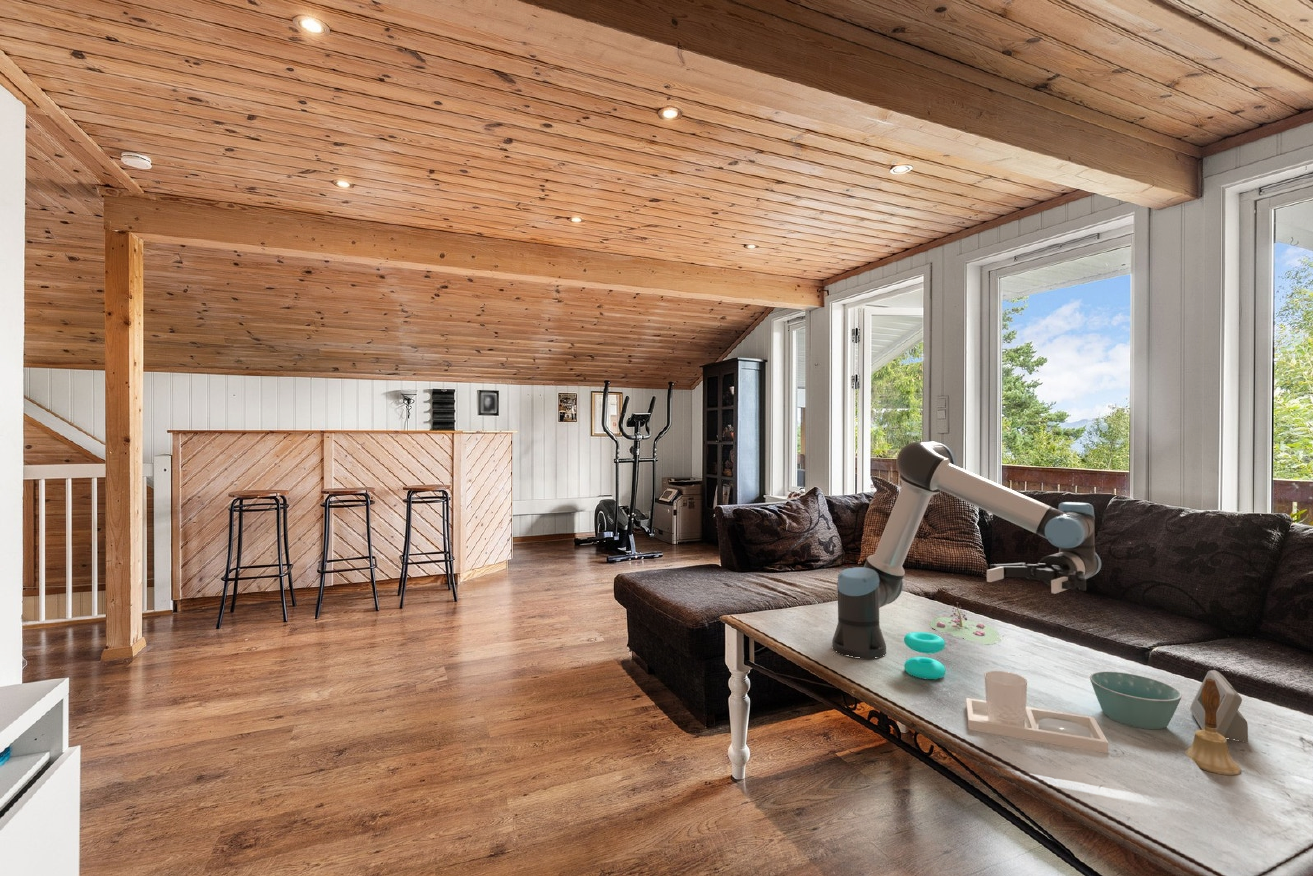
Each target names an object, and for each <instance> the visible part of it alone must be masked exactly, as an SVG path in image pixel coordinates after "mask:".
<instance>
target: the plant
mask: <svg viewBox="0 0 1313 876" xmlns="http://www.w3.org/2000/svg"><path fill="white" fill-rule="evenodd" d="M956 604H957V605H956V606H955V604H952V605H950V607H952V609H953V610H951V612H952V613H953V614H951V615H950V617H944V616H942V617H936V618H935V619H933V620H932V621H931V622H930V624H929V628H931V627H935V628H936V629H937V630H939V631H940V632H939V633H941V632H950V633H951V634H952V635H953V636H952V637H954V636H961V637H963V638H964V639H963V640H966V641H969V642H972V641H980V643H981V644H980V645H983V644H984V646H987V645H988V646H991V645H993V644H994V643H995V641H1000V642H1001V639H1000V638H999V637H997V636H1000V634H999V633H998V632H997V630H996V629H995V628H993V627H991V626H989V625H987V624H985V623H984V622H979V621H972V620H971V621H970V620H968V618H967V614H968V613H967V612H966V611H964V610H963V611H962V610H961V609H962V606H961V605H959V606H958V604H959V602H956ZM955 607H956V608H955ZM959 609H960V610H959ZM954 610H955V611H954ZM952 617H957V618H952ZM990 644H991V645H990ZM995 644H996V643H995ZM995 644H994V645H995Z"/></svg>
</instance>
